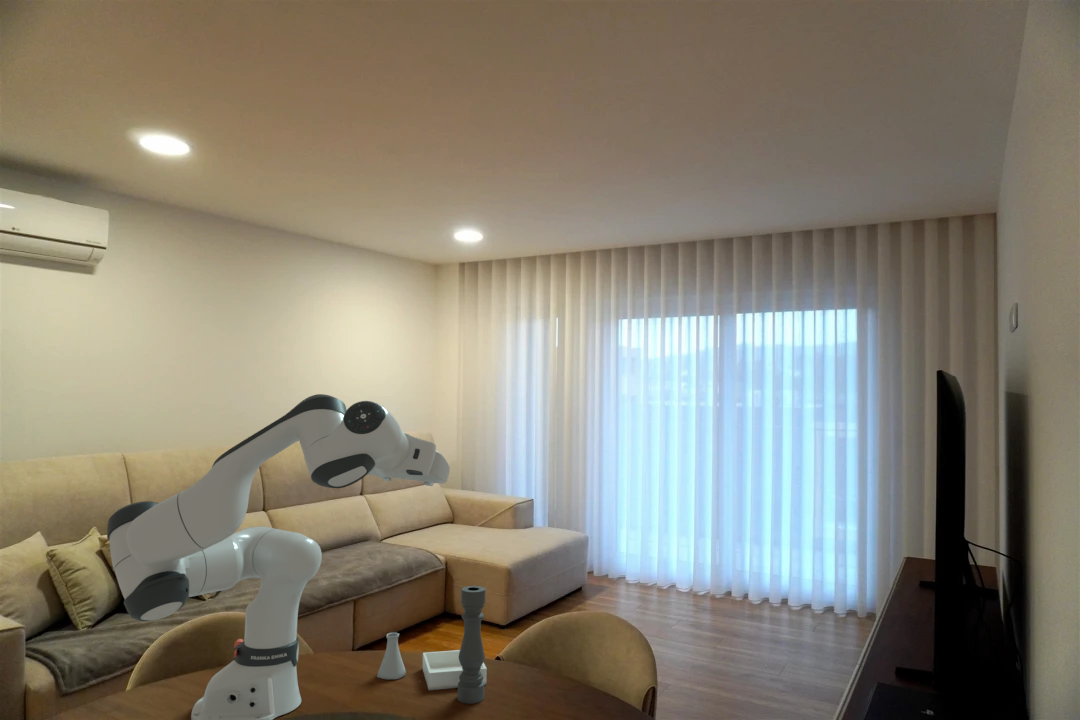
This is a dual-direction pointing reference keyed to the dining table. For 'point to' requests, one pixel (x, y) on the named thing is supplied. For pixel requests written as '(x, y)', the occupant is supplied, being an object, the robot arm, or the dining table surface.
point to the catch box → (444, 669)
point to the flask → (392, 660)
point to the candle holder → (471, 646)
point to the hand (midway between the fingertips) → (409, 480)
